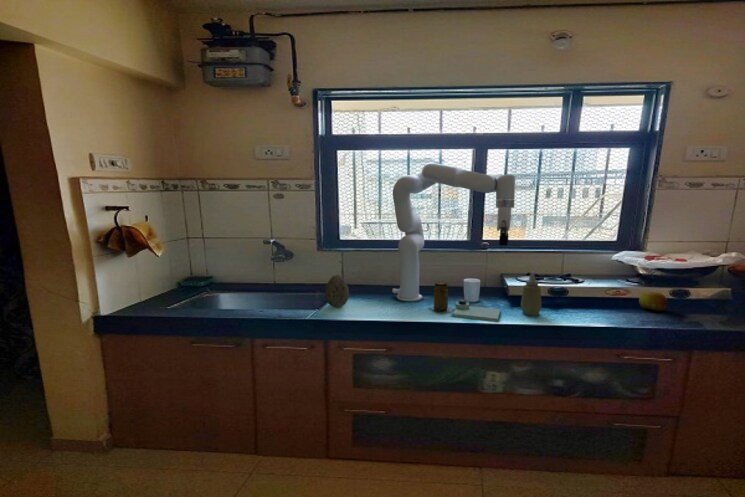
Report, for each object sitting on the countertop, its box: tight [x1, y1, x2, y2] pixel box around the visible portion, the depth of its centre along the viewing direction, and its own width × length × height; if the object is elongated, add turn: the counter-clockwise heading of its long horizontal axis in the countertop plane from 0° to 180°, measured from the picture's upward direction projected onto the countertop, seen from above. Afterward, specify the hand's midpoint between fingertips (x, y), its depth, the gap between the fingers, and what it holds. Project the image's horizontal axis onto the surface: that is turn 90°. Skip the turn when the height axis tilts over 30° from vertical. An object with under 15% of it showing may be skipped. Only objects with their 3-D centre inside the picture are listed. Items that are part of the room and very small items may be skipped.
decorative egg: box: [324, 274, 350, 309], centre depth 160 cm, size 11×11×15 cm
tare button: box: [458, 299, 467, 305], centre depth 154 cm, size 3×3×2 cm
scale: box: [451, 301, 501, 322], centre depth 148 cm, size 18×13×3 cm
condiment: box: [429, 281, 455, 314], centre depth 154 cm, size 7×8×12 cm
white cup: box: [462, 277, 481, 303], centre depth 169 cm, size 8×8×10 cm
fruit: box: [638, 291, 668, 312], centre depth 150 cm, size 10×9×8 cm
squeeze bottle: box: [520, 271, 543, 317], centre depth 147 cm, size 8×8×18 cm
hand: (503, 244), depth 152 cm, fingers open, 9 cm apart
